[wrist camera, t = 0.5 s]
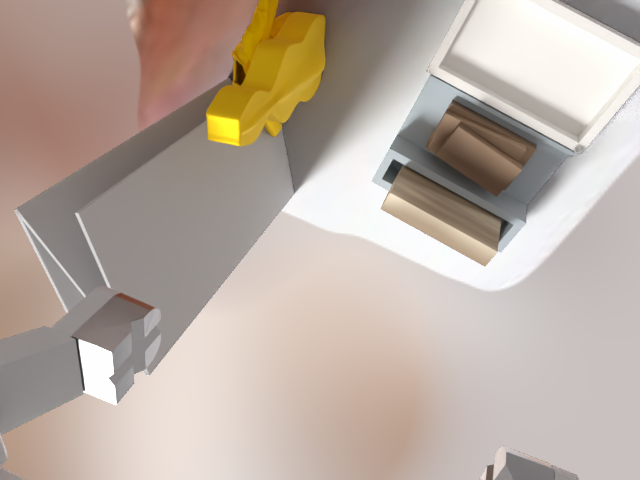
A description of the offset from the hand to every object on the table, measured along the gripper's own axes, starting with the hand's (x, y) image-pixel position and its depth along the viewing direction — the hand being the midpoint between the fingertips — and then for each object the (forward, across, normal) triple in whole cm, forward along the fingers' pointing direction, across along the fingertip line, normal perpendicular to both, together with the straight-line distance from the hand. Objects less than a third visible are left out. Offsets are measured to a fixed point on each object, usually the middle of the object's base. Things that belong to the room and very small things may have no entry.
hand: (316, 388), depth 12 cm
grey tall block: (+44, +19, +18) cm, 51 cm away
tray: (+44, -6, +2) cm, 44 cm away
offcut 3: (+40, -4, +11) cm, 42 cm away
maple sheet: (+43, -3, +16) cm, 46 cm away
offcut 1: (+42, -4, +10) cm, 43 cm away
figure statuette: (+44, +16, +6) cm, 47 cm away
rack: (+44, -4, +12) cm, 46 cm away
